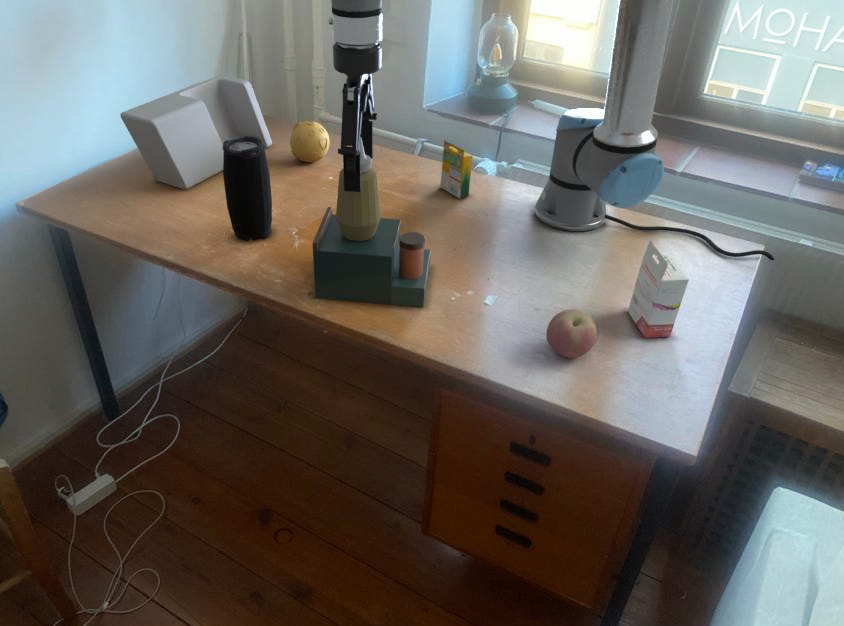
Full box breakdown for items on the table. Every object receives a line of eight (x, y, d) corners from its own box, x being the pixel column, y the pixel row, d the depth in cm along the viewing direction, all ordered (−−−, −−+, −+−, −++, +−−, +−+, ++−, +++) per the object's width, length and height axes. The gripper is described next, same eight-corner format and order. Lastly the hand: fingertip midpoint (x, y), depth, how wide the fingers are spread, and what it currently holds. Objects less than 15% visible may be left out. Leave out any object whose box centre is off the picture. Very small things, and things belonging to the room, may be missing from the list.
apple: (538, 361, 117) (546, 322, 112) (547, 335, 122) (555, 297, 117) (587, 373, 115) (597, 333, 110) (594, 346, 120) (604, 307, 115)
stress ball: (291, 153, 183) (288, 114, 176) (329, 152, 183) (327, 113, 177) (291, 169, 175) (288, 129, 169) (331, 168, 176) (329, 128, 170)
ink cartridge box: (671, 337, 123) (696, 264, 113) (643, 338, 122) (666, 265, 113) (652, 309, 129) (674, 238, 120) (626, 310, 129) (646, 238, 120)
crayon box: (469, 196, 165) (474, 147, 158) (459, 199, 163) (463, 150, 156) (449, 184, 169) (453, 137, 162) (440, 187, 168) (443, 139, 161)
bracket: (204, 224, 173) (152, 122, 149) (173, 213, 177) (117, 113, 153) (274, 144, 186) (235, 39, 162) (243, 136, 190) (201, 32, 166)
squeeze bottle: (375, 247, 125) (376, 149, 114) (331, 242, 127) (327, 144, 115) (384, 226, 132) (386, 131, 120) (342, 221, 133) (340, 126, 122)
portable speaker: (223, 238, 147) (210, 146, 135) (249, 219, 154) (239, 131, 142) (257, 247, 144) (246, 155, 132) (282, 228, 151) (275, 138, 139)
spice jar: (424, 267, 132) (426, 232, 127) (422, 280, 128) (424, 245, 124) (399, 265, 132) (400, 230, 128) (396, 278, 129) (397, 243, 124)
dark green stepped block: (429, 267, 140) (433, 214, 132) (423, 307, 129) (426, 251, 122) (329, 259, 141) (327, 206, 134) (315, 297, 131) (312, 242, 123)
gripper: (346, 21, 119) (349, 144, 132) (316, 65, 99) (323, 204, 113) (391, 22, 118) (389, 146, 131) (369, 68, 99) (370, 207, 112)
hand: (359, 173), depth 122 cm, fingers open, 13 cm apart
